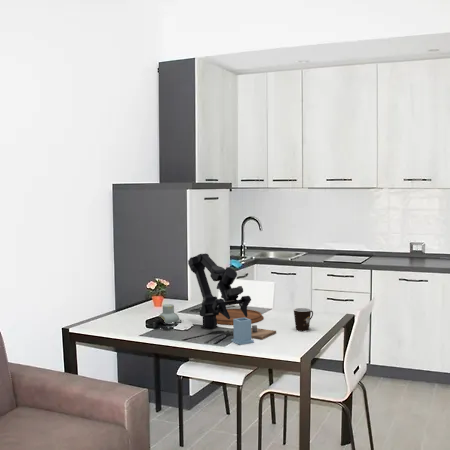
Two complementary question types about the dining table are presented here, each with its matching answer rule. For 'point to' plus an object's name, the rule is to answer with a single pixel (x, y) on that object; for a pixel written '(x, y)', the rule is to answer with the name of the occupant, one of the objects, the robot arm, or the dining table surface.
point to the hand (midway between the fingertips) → (238, 317)
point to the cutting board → (239, 316)
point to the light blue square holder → (242, 331)
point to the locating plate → (260, 333)
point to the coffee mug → (302, 318)
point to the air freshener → (169, 314)
